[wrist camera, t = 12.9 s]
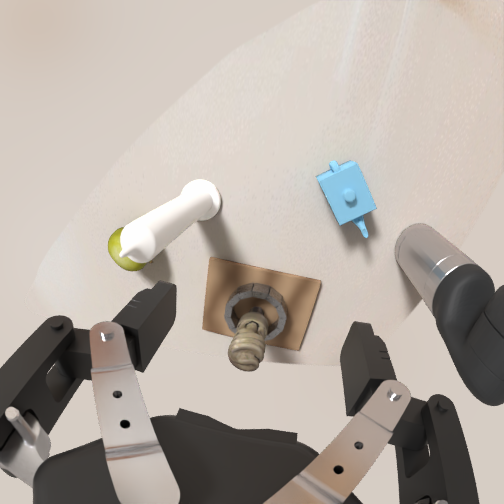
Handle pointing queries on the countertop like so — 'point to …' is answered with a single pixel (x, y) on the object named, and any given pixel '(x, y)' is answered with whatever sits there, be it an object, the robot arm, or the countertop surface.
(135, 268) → the apple
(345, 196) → the teapot
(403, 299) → the countertop surface
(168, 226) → the candle
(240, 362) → the light bulb
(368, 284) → the countertop surface
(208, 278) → the board
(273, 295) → the ring seat
